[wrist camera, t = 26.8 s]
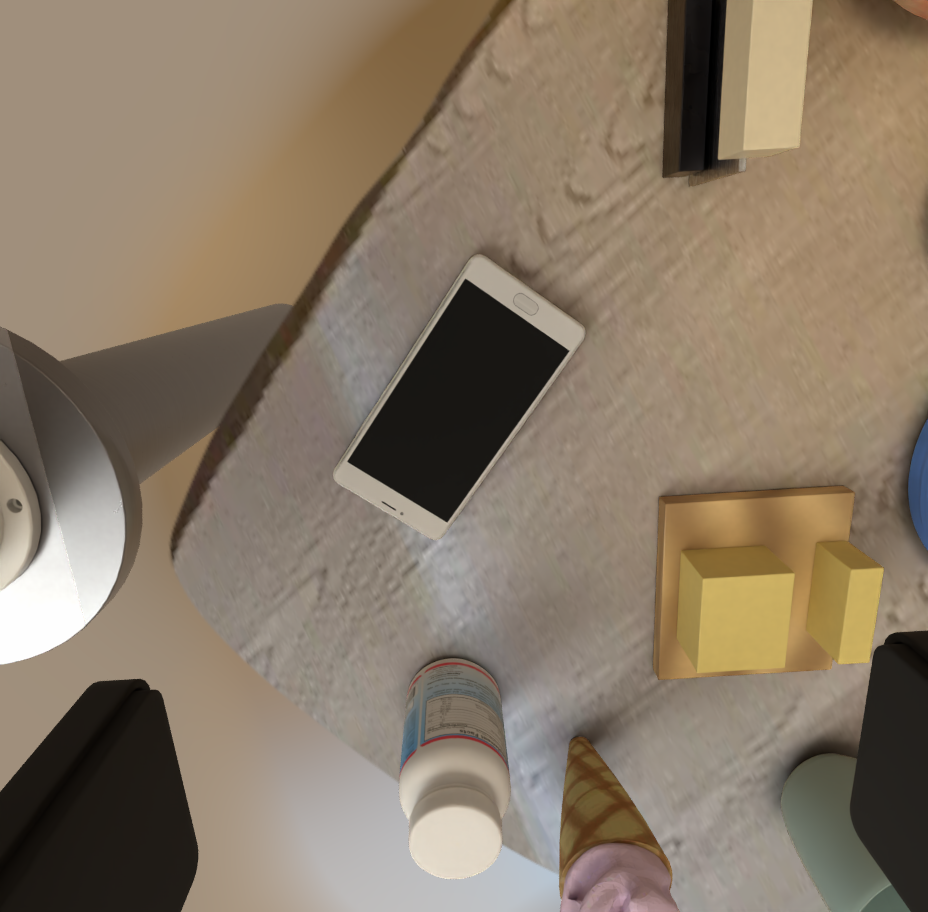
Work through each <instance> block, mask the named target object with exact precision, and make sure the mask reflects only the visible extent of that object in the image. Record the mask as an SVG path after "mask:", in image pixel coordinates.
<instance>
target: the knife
mask: <svg viewBox="0 0 928 912" xmlns="http://www.w3.org/2000/svg"><path fill="white" fill-rule="evenodd" d="M812 5H813V0H712V18H711V37H710V57H709V76H708V96H707V115H706V135H705V154H704V170H702V171H699V172H696V173H693V174H691V175H689V186H696V185H700V184H703V183H707V182H710V181H713V180H717V179H720V178H724V177H727V176H731V175H734V174H737V173H741V172H744V171H745V170H746V158H758V157H770V156H773V155H776V154H779V153H782V152H786V151H789V150H792V149H795V148H798V147H799V146H800V136H801V125H802V114H803V103H804V92H805V81H806V70H807V59H808V48H809V38H810V27H811V16H812Z"/></svg>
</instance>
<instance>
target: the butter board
mask: <svg viewBox="0 0 928 912" xmlns="http://www.w3.org/2000/svg"><path fill="white" fill-rule="evenodd" d="M854 498H855V492H853V491H852V490H850V489H848V488H847V487H845V486H829V487H813V488H796V489H780V490H763V491H747V492H730V493H714V494H697V495H681V496H664V497H659V521H658V548H657V574H656V601H655V628H654V655H653V670H654V672H655V674H656V676H657V678H658V680H666V679H682V678H698V677H715V676H731V675H747V674H763V673H780V672H796V671H812V670H829V669H831V668H832V660H833V658H832V657H831V656H830V655H829V654H828V653H827V652H826V651H825V650H824V649H823V648H822V647H821V646H820V645H819V643H818V642H817V641H816V640H815V639H814V638H813V637H812V636H811V635H810V634H809V633H808V632H807V631H806V625H807V617H808V608H809V600H810V592H811V583H812V575H813V567H814V559H815V550H816V543H817V542H830V541H847V542H849V535H850V528H851V520H852V513H853V505H854ZM763 545H764V546H766V547H767V548H768V549H769V550H770V551H771V552H773V553H774V554H775V555H776V556H777V557H778V558H779V559H780V560H781V561H782V562H783V563H785V564H786V565H787V566H788V567H789V568H790V569H791V570H792V571H793V572H794V573H795V579H794V588H793V597H792V606H791V615H790V625H789V634H788V643H787V652H786V661H785V668H772V669H756V670H740V671H724V672H707V673H697V672H696V670H695V668H694V667H693V665H692V663H691V662H690V660H689V658H688V657H687V655H686V653H685V651H684V650H683V648H682V646H681V645H680V643H679V641H678V640H677V619H678V599H679V579H680V559H681V551H682V550H698V549H714V548H730V547H747V546H763Z"/></svg>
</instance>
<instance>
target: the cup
mask: <svg viewBox="0 0 928 912" xmlns="http://www.w3.org/2000/svg"><path fill="white" fill-rule="evenodd" d="M856 762H857V759H855V758H853V757H850V756H847V755H842V754H834V753H826V754H820V755H816V756H813V757H811V758H809V759H807V760H805V761H804V762H803V763H801V764H800V765H798V766H797V767H796V768H795V769H794V770H793V771H792V773H791V774H790V775H789V777H788V778H787V780H786V782H785V784H784V787H783V790H782V793H781V811H782V816H783V819H784V822H785V825H786V828H787V832H788V834H789V837H790V839H791V841H792V844H793V846H794V848H795V850H796V852H797V854H798V856H799V858H800V860H801V862H802V864H803V866H804V868H805V870H806V871H807V873H808V875H809V877H810V879H811V880H812V882H813V884H814V886H815V887H816V889H817V891H818V893H819V894H820V896H821V898H822V900H823V901H824V903H825V905H826V907H827V908H828V910H829V912H911V911H910V910H909V909H908V907H907V906H906V904H905V903H904V901H903V900H902V899H901V897H900V896H899V894H898V893H897V891H896V890H895V889H894V887H893V886H892V884H891V883H890V882H889V880H888V879H887V877H886V876H885V874H884V873H883V872H882V870H881V869H880V867H879V866H878V865H877V863H876V862H875V860H874V859H873V857H872V856H871V855H870V853H869V852H868V850H867V849H866V847H865V846H864V845H863V843H862V842H861V840H860V839H859V837H858V835H857V834H856V831H855V829H854V827H853V824H852V820H851V816H850V801H851V794H852V788H853V781H854V775H855V769H856Z"/></svg>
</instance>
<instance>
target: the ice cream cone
mask: <svg viewBox="0 0 928 912" xmlns="http://www.w3.org/2000/svg"><path fill="white" fill-rule="evenodd" d="M671 884H672V869H671V866H670V863H669V861H668V859H667V857H666V856H665V854H664V852H663V850H662V849H661V847H660V845H659V844H658V842H657V840H656V838H655V837H654V835H653V833H652V832H651V830H650V828H649V826H648V825H647V823H646V821H645V820H644V818H643V817H642V815H641V814H640V812H639V811H638V809H637V808H636V806H635V805H634V803H633V801H632V800H631V798H630V797H629V795H628V794H627V792H626V791H625V790H624V788H623V787H622V785H621V784H620V783H619V781H618V780H617V778H616V777H615V775H614V774H613V773H612V771H611V770H610V769H609V767H608V766H607V765H606V763H605V762H604V761H603V759H602V758H601V757H600V755H599V754H598V753H597V751H596V750H595V749H594V747H593V746H592V745H591V743H590V742H589V741H588V739H586V738H585V737H575V738H573V739H572V740H571V741H570V743H569V751H568V759H567V767H566V775H565V783H564V792H563V803H562V813H561V829H560V865H559V888H560V897H561V899H562V901H561V907H560V912H680V911H679V909H678V908H677V905H676V903H675V901H674V900H673V898H672V896H671V894H670V888H671Z"/></svg>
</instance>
